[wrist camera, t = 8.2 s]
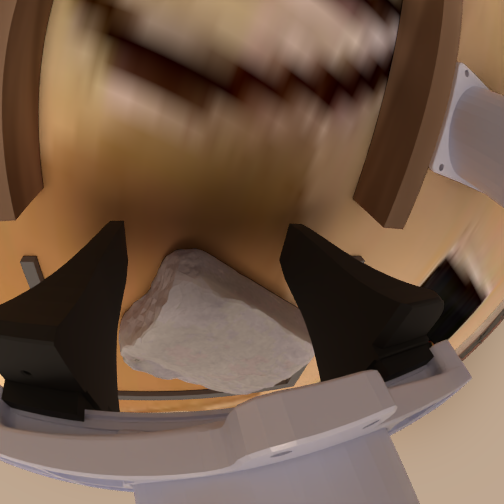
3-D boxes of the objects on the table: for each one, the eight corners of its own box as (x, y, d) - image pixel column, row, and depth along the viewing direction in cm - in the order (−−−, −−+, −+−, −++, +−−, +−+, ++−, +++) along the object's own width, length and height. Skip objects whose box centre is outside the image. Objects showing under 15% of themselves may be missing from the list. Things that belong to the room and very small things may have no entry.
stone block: (229, 355, 24) (321, 308, 20) (231, 403, 21) (335, 367, 16) (111, 303, 18) (190, 219, 13) (96, 362, 14) (179, 298, 10)
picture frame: (505, 293, 41) (443, 357, 48) (511, 300, 39) (448, 365, 46) (502, 310, 50) (450, 362, 57) (507, 316, 48) (454, 368, 55)
